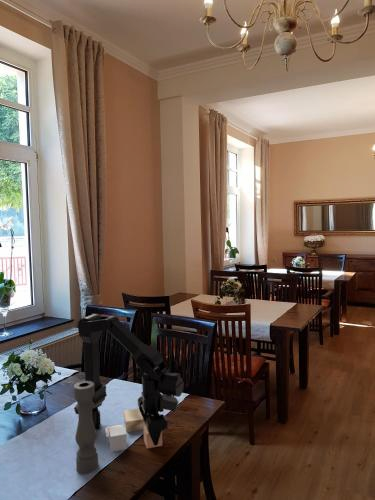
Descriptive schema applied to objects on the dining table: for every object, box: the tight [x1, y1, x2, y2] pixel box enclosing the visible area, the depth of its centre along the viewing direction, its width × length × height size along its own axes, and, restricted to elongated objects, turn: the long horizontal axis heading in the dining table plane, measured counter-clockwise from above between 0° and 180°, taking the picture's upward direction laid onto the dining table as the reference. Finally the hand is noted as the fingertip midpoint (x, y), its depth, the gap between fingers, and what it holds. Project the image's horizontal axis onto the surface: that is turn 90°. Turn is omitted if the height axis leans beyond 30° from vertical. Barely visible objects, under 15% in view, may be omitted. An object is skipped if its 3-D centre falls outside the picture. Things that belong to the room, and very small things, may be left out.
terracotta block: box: [143, 425, 163, 449], centre depth 128 cm, size 5×5×5 cm
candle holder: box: [73, 380, 99, 475], centre depth 115 cm, size 6×6×25 cm
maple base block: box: [123, 408, 146, 433], centre depth 139 cm, size 8×8×4 cm
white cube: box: [108, 425, 128, 453], centre depth 126 cm, size 5×5×5 cm
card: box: [104, 424, 123, 438], centre depth 135 cm, size 6×6×1 cm
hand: (152, 437), depth 128 cm, fingers open, 9 cm apart
